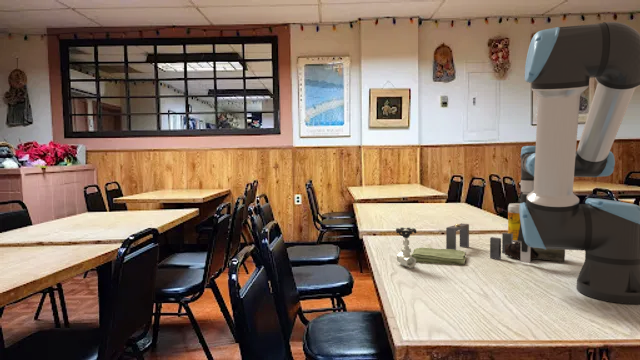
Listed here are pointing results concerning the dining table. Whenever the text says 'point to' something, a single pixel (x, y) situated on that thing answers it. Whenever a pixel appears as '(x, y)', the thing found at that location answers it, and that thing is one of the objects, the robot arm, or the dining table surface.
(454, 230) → the grey upright posts
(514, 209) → the beer glass
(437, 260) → the washcloth
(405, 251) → the valve
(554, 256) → the dark green flashlight
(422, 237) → the dining table surface
